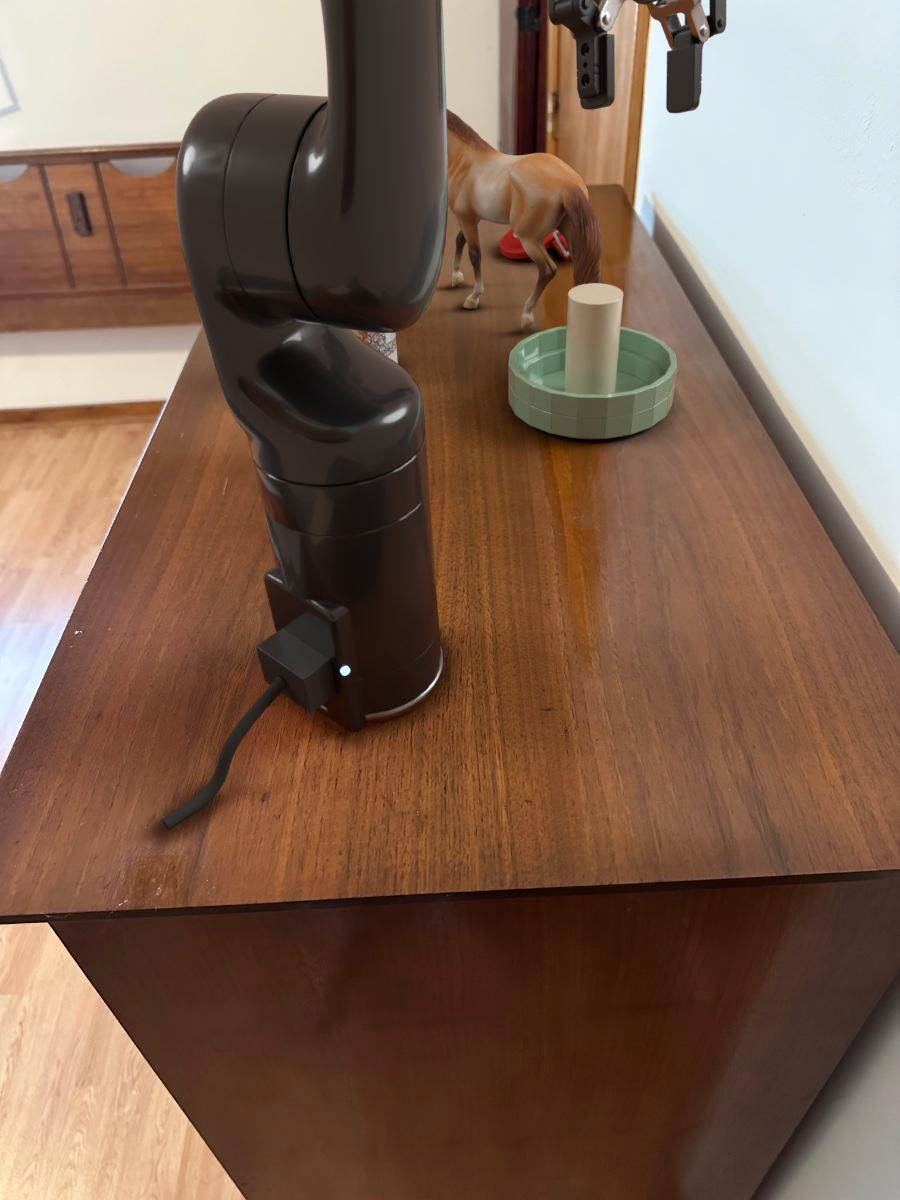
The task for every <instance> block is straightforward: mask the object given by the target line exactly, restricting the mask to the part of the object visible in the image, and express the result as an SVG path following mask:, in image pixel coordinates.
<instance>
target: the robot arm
mask: <svg viewBox="0 0 900 1200" xmlns="http://www.w3.org/2000/svg"><path fill="white" fill-rule="evenodd" d="M626 1H627V0H547V3H548V5H547V6H548V8H547V9H548V10H547V11H548V13H547V15H548V19H549V21H550V24H552V25H553V26H560V25H561V26H563V27H565V28H567V30H569V33H570V35H571V38H572V39H573V40H574V41H575V53H576V56H575V57H576V59H575V60H576V91H577V95H578V98H579V102H580V103H579V104H580V107H581V108H582V109H583V110H589V111H591V110H592V111H593V110H599V109H603V108H607V107H610V106H612V105H613V103H614V102H615V99H616V98H615V97H616V81H615V80H616V78H615V76H616V73H615V72H616V69H615V67H616V65H615V57H616V56H615V53H616V51H615V34H613V33H608V32H610V31H611V30H612V28H613V27H614V24H615V22H616V20H617V19H618V15H619V14H620V11H621V9H622V6H623V4H625V2H626ZM632 1H633V2H635V4H638V5H645V6H646V7H647V10H648V12H649V15H650V17H651V18H652V19H653V20H655V21H657V22H659V23H660V25H661V28H662V31H663V34H664V36H665V39H666V42H667V45H668V47H669V48H670V49H671V50H667V51H666V84H665V85H666V87H665V89H666V90H665V92H666V93H665V95H666V97H665V100H666V101H665V108H666V111H667V113H670V114H683V113H687V112H691V111H693V112H694V111H695V110H697V109H698V107H699V106H700V103H701V95H702V80H703V77H702V74H703V73H702V72H703V48H704V45H705V43H706V42H707V41H708V40H709V39H711V38H712V37H714V36H716V35H719V34H723V33H724V32H725V31H726V28H727V0H709V5H708V6H709V14H707V15H706V14H705V10H704V8H703V5H702V0H632ZM319 2H320V9H321V18H322V26H323V27H322V28H323V38H324V51H325V62H326V64H325V65H326V90H327V91H326V92H327V96H325V95H307V94H292V93H291V94H290V93H289V94H287V93H271V92H270V93H269V92H235V93H229V94H224V95H221V96H218V97H215V98H213V99H211V100H210V101H208V102H207V103H206V104H204V105H203V106H201V108H199V110H198V111H197V112H196V113H195V115H194V116H193V117H192V118H191V120H190V122H189V124H188V125H187V127H186V129H185V131H184V134H183V137H182V139H181V143H180V146H179V150H178V155H177V159H176V167H175V179H174V180H175V181H174V203H175V204H174V205H175V213H176V214H175V215H176V224H177V225H176V226H177V231H178V237H179V243H180V247H181V252H182V253H181V254H182V257H183V263H184V265H185V268H186V269H185V270H186V272H187V273H186V274H187V275H188V276H187V277H188V280H189V284H190V287H191V291H192V294H193V295H192V296H193V298H194V303H195V305H196V308H197V311H198V316H199V319H200V322H201V325H202V329H203V332H204V335H205V338H206V343H207V346H208V349H209V352H210V356H211V360H212V363H213V366H214V367H213V368H214V370H215V374H216V377H217V381H218V385H219V389H220V391H221V394H222V398H223V399H224V402H225V405H226V406H227V409H228V411H229V413H230V414H231V416H232V417H233V419H234V421H235V422H236V423H237V425H238V426H239V427H240V429H241V430H242V431H243V432H244V434H245V436H246V439H247V442H248V446H249V451H250V455H251V459H252V463H253V468H254V473H255V478H256V482H257V487H258V491H259V496H260V501H261V506H262V511H263V515H264V520H265V524H266V525H265V526H266V530H267V534H268V539H269V543H270V547H271V552H272V557H273V561H274V566H273V567H271V568H270V569H268V570H266V571H265V573H263V576H262V577H263V583H264V588H265V592H266V596H267V600H268V601H267V602H268V605H269V610H270V614H271V618H272V622H273V626H274V631H275V632H274V633H273V634H271V635H270V636H269V637H267V638H266V639H264V640H263V641H261V642H260V643H258V644H256V645H255V649H256V653H257V657H258V661H259V664H260V669H261V672H262V676H263V677H262V678H263V681H264V682H266V683H267V684H269V686H268V687H267V688H266V689H265V690H264V691H263V693H261V695H260V696H259V697H258V698H257V699H256V701H254V703H253V704H252V705H251V706H250V708H249V709H248V710H247V711H246V712H245V714H243V716H242V717H241V718H240V720H239V721H238V722H237V724H236V725H235V726H234V727H233V730H232V731H231V732H230V734H229V735H228V736H227V739H226V740H225V742H224V744H223V746H222V749H221V751H220V754H219V755H218V759H217V763H216V767H215V769H214V772H213V775H212V777H211V778H210V779H209V781H208V783H207V784H206V785H205V786H204V788H203V789H201V791H199V793H198V794H197V795H195V796H194V797H193V798H192V799H190V800H189V801H187V802H186V803H184V804H183V805H181V806H179V807H177V809H175V810H173V811H172V812H170V813H169V814H168V815H165V816H164V817H163V818H161V820H160V821H161V824H163V826H164V828H165V829H166V830H167V831H171V830H172V829H173V828H175V827H176V826H178V825H179V824H181V823H183V822H184V821H185V820H187V819H189V818H190V817H192V816H193V815H194V814H196V813H198V812H199V811H200V810H202V809H203V808H204V807H205V806H206V805H208V803H209V802H211V801H212V799H213V798H215V796H216V795H217V794H218V792H219V791H220V790H221V789H222V787H223V785H224V783H225V782H226V779H227V777H228V774H229V771H230V768H231V765H232V761H233V759H234V757H235V754H236V751H237V749H238V748H239V746H240V745H241V743H242V741H243V739H244V738H245V736H246V735H247V734H248V732H249V731H250V730H251V728H252V727H253V725H255V723H256V722H257V721H258V719H260V717H261V716H262V715H263V714H264V712H266V710H267V709H268V708H269V707H270V706H271V704H272V703H273V702H274V701H275V700H276V699H277V698H278V697H279V696H280V694H283V695H284V696H285V697H287V698H288V699H289V700H291V701H292V702H293V703H295V704H296V705H297V706H299V708H302V709H303V710H305V711H306V712H307V713H309V714H311V715H312V714H313V713H314V712H315V711H318V712H319V713H321V714H323V715H324V716H326V717H328V718H329V719H330V720H332V721H333V722H335V723H336V724H337V725H339V726H340V727H342V729H345V731H347V732H349V733H355V732H357V731H358V730H360V729H361V728H362V727H364V726H366V725H367V724H375V723H382V722H383V723H384V722H388V721H390V720H394V719H397V718H400V717H402V716H405V715H408V714H409V713H411V712H413V711H415V710H416V709H418V708H419V707H420V706H422V705H424V703H425V702H427V701H428V700H429V699H430V698H431V697H432V695H433V694H434V693H435V692H436V690H437V689H438V687H439V686H440V683H441V681H442V679H443V674H444V654H443V650H442V646H441V634H440V633H441V632H440V619H439V608H438V607H439V606H438V592H437V580H436V579H437V578H436V565H435V563H436V562H435V550H434V549H435V548H434V535H433V522H432V520H433V519H432V508H431V507H432V505H431V492H430V475H429V463H428V461H429V460H428V448H427V447H428V446H427V433H426V419H425V417H426V416H425V407H424V399H423V395H422V391H421V389H420V386H419V384H418V383H417V381H416V379H415V378H414V377H413V375H412V374H411V373H410V372H409V371H408V370H407V369H406V368H405V367H403V366H402V365H401V364H399V362H398V363H396V362H395V361H393V360H392V359H390V358H388V357H387V356H385V355H383V354H382V353H380V352H378V351H377V350H375V349H374V348H373V347H371V346H370V345H368V344H367V343H365V342H364V341H363V340H361V339H360V338H359V337H358V336H357V335H355V334H354V333H353V332H352V331H351V330H357V331H364V332H373V333H395V334H397V333H399V332H404V331H405V330H407V329H409V328H411V327H413V326H414V325H415V324H416V323H417V322H418V321H419V320H420V319H421V318H422V316H423V315H424V313H425V311H426V310H427V309H428V307H429V306H430V304H431V301H432V300H433V297H434V294H435V292H436V288H437V286H438V282H439V279H440V276H441V270H442V267H443V261H444V256H445V255H444V254H445V249H446V244H447V243H446V241H447V230H448V229H447V228H448V215H449V205H448V185H449V182H448V135H447V109H448V108H447V86H446V85H447V84H446V83H447V82H446V60H445V33H444V32H445V31H444V13H443V12H444V11H443V10H444V9H443V8H444V7H443V0H319ZM678 14H683V15H684V24H683V25H682V24H681V21H680V18H679V15H678Z"/></svg>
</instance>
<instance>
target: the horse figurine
mask: <svg viewBox="0 0 900 1200" xmlns="http://www.w3.org/2000/svg"><path fill="white" fill-rule="evenodd" d="M446 109H447V135H448V182H449V185H448V208H450V210H451V212H452V213H453V214H454V215H455V219H456V220H455V221H456V223H457V226H458V227H459V228H460V230H459V232H458V233H457V234H456V238H455V252H454V255H453V259H452V262H451V267H452V274H451V287H452V288H455V287H458V286H462V284H463V283H464V282H465V281H464V278H465V277H464V273H462V272H461V271H460V270H461V268H462V261H463V260H462V258H463V253H464V248H465V246H466V244H467V249H468V250H467V251H468V252H467V253H468V259H469V261H470V264H471V266H472V269H473V276H474V284H473V291H472V293H471V294H469V295H468V296H467V297H466V300H465V301H464V302H463V305H462V307H463V308H465V309H469V310H470V309H471V310H472V309H477V307H478V305H479V303H480V299H479V297H480V296H481V295H482V294H483V293H484V290H485V288H484V283H483V277H482V249H481V243H480V235H479V228H478V225H479V223H480V222H481V220H482V221H488V222H490V223H494V224H497V225H510V228H512V229H513V231H514V233H515V235H516V236H517V237H518V238H519V239H520V241H521V243H522V246H523V248H524V250H525V252H526V253H527V254H528V256H529V257H528V258H530V259H531V260H532V261H533V262H534V263H535V264H536V265H537V269H538V278H537V280H536V283H535V285H534V287H533V289H532V291H531V293H530V294H529V295H528V297H527V298H526V300H525V302H524V306H523V310H522V314H521V318H520V329H521V330H522V331H526V330H527V329H529V328H530V327H531V326H532V325H533V324H534V323H535V318H534V314H533V312H532V311H533V310H534V309H536V308H537V305H538V302H539V300H540V298H541V296H542V294H543V292H544V291H545V289H546V287H547V286H548V284H550V282H551V281H552V280H553V279H554V278H555V277H556V276H557V273H558V267H557V265H556V263H555V262H554V261H553V259H552V258H551V257H550V255H549V253H548V251H547V250H546V249H545V247H544V245H543V239H544V238H545V237H547V236H548V235H549V234H550V233H551V232H553V231H554V230H555V228H556V229H557V230H558V231H559V232H560V233H561V234H562V236H563V237H564V238H565V240H566V244H567V247H568V250H569V254H570V256H571V259H570V260H571V262H572V263H573V274H572V276H573V284H574V286H573V288H574V287H576V286H579V285H583V284H591V283H600V284H603V259H602V258H603V235H602V233H601V226H600V223H599V220H598V217H597V214H596V211H595V209H594V207H593V206H592V203H591V202H590V197H589V191H588V188H587V186H586V184H585V182H584V180H583V179H582V177H581V176H580V175H579V174H578V172H576V171H575V170H574V169H573V168H572V167H571V166H569V165H568V164H567V163H566V162H564V161H563V160H562V159H560V158H559V157H558V156H556V155H554V154H551V153H547V152H535V153H529V154H528V153H527V154H523V155H521V154H520V155H514V154H513V155H512V154H506V153H503V152H501V151H499V150H498V149H496V148H495V147H493V146H492V145H490V144H489V142H487V141H486V140H485V139H484V138H482V137H481V136H480V134H479V133H478V132H477V131H475V130H474V129H473V128H472V126H471V125H469V124H468V123H466V122H465V121H464V120H463V119H462V118H461V117H460V116H459V115H458V114H456V113H454V112H453V111H451V110H450V109H448V108H446Z"/></svg>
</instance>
